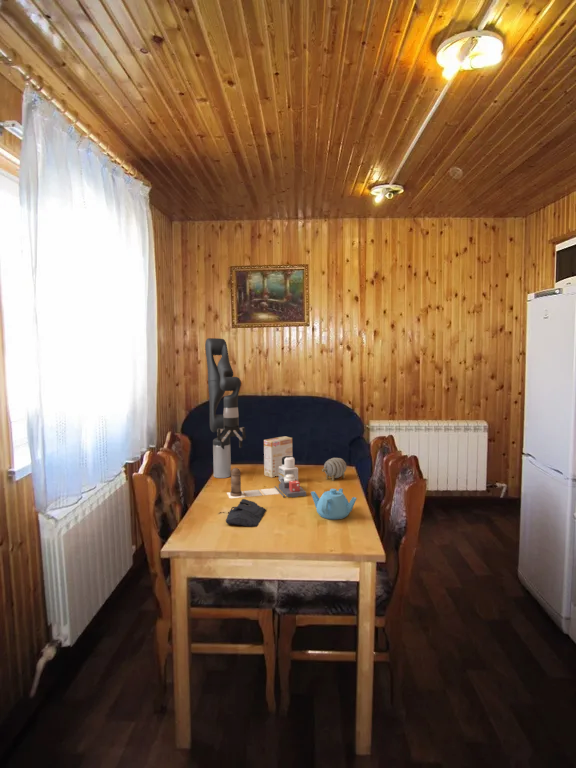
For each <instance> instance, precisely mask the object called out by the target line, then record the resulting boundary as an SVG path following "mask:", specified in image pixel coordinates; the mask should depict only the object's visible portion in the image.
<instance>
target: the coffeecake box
mask: <svg viewBox="0 0 576 768" xmlns="http://www.w3.org/2000/svg"><path fill="white" fill-rule="evenodd" d="M263 454H264V455H263V466H264V467H263V468H264V471H263V472H264V473H263V474H264V476H266V477H268V478H275V476H276V477H279V466H282V458H283V457H285V456H292V457H293V437H290V436H285V435H284V436H278V437H272V438H267V439H263Z"/></svg>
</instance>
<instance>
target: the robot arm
mask: <svg viewBox="0 0 576 768" xmlns="http://www.w3.org/2000/svg"><path fill="white" fill-rule="evenodd" d="M204 343H205V345H204V348H205V357H206V366H207V385H208V386H207V387H208V388H207V389H208V398H209V401H208V402H209V429H210V431H211V432H212V433H216V437H215V438H214V439H213V440H212V455H213V456H212V457H213V459H212V460H213V462H212V465H213V469H212V470H213V477H214V478H217V479H225V478H229V477H230V478H231V471H232V463H231V462H232V461H231V460H232V459H231V458H232V457H231V453H232V452H231V438H232V437H233V438H234V437H237V438H238V448H239V449H241V448H243V440H247V439H246V438H247V436H246V427H244V426H242V427H240V425H239V424H240V423H239V420H240V419H239V416H240V414H239V403H238V401H239V393H240V390H241V386H242V385H241V384H242V381H241V379H240V377H237V376H234V371H233V368H232V365H231V362H230V356H229V351H228V345H227V342H226V339H224V338H219V337H218V338H217V337H212V338H211V337H208V338H206V340H205V342H204ZM214 356H221V357H220V359H219V361H218V363H216V360H215V358H214ZM225 392H231V394H229V395H225V394H226V393H225ZM224 395H225V396H224ZM223 396H224V397H223ZM222 398H223V412H222V414H217V413H216V412H217V408H218V406H219V404H220V401H221V400H222ZM240 432H241V434H242V436H241V435H240V434H239V433H240Z"/></svg>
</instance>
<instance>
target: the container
mask: <svg viewBox="0 0 576 768" xmlns="http://www.w3.org/2000/svg"><path fill="white" fill-rule="evenodd" d="M295 462H296V460H295V457H294V456H293V455H292V456H285V457H283V458H282V466H279V476H278V481H279V482H280V483H281V479H284V477H286V475H287V474H293V475H294V477H295V479H296V480H298V481H299V468H298V467H297V466H295Z"/></svg>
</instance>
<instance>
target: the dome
mask: <svg viewBox="0 0 576 768" xmlns="http://www.w3.org/2000/svg"><path fill="white" fill-rule="evenodd" d="M289 481H295V477H294V475H293V474H287V475H286V477H284V482H285V483H289Z"/></svg>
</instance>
